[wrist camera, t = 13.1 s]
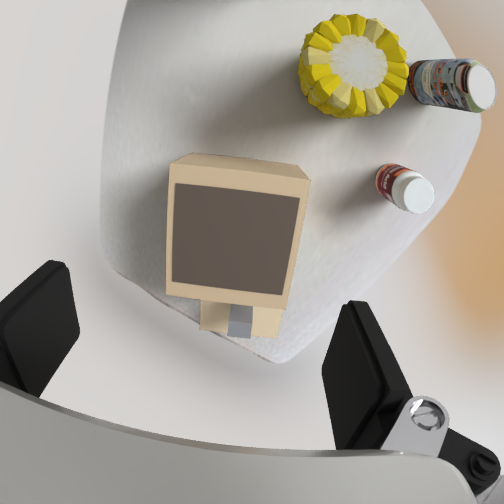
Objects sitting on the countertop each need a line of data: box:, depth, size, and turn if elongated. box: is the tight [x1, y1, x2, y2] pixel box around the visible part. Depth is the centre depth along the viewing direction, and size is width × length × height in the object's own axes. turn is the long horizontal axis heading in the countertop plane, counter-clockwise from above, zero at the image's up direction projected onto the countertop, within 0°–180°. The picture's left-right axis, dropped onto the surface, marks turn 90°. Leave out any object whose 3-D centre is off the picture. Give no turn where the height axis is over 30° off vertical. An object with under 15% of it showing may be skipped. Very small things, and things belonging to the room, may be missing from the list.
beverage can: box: [408, 59, 497, 113], centre depth 26 cm, size 6×7×12 cm
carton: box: [166, 153, 311, 310], centre depth 35 cm, size 14×13×10 cm
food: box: [297, 14, 409, 119], centre depth 26 cm, size 15×12×10 cm
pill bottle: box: [375, 163, 434, 214], centre depth 34 cm, size 5×5×8 cm
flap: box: [200, 300, 283, 339], centre depth 43 cm, size 11×12×6 cm
